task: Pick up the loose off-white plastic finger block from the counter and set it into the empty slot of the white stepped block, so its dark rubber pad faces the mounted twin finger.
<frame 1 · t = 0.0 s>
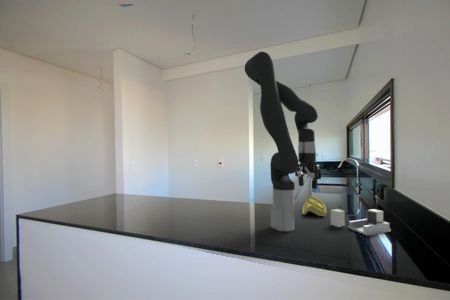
hand: (307, 187, 105), 17 cm above the worktop, tool pointing down, fingers open, 8 cm apart
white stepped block: (369, 230, 98), on the worktop
finger block: (337, 225, 104), on the worktop
plastic component: (314, 213, 127), on the worktop
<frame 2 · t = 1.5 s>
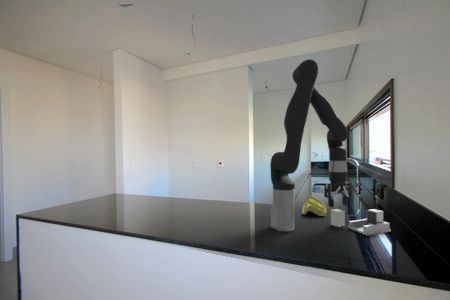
hand: (338, 206, 105), 9 cm above the worktop, tool pointing down, fingers open, 8 cm apart
nothing on the worktop moved.
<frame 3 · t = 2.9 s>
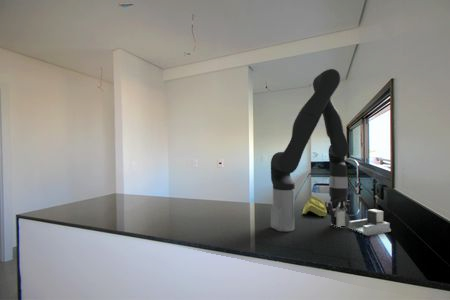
hand: (338, 223, 104), 1 cm above the worktop, tool pointing down, fingers closed on finger block, 4 cm apart
finger block: (337, 225, 104), on the worktop, touching gripper
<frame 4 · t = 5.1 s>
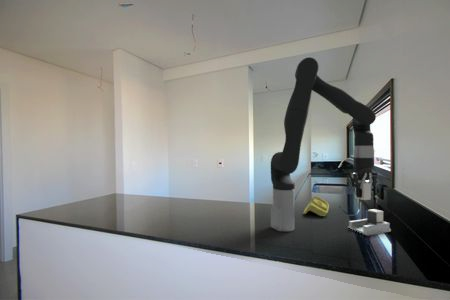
hand: (363, 196, 97), 14 cm above the worktop, tool pointing down, fingers closed on finger block, 4 cm apart
finger block: (363, 198, 97), point 14 cm above the worktop, touching gripper
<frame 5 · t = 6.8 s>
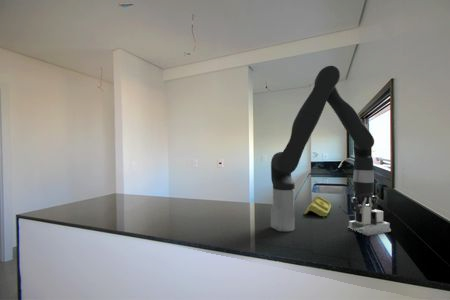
hand: (363, 220, 97), 4 cm above the worktop, tool pointing down, fingers closed on finger block, 4 cm apart
finger block: (362, 222, 97), point 3 cm above the worktop, touching gripper
when the fingers open (4 cm above the worktop, at t = 7.4 s): finger block drops 2 cm, resting on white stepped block.
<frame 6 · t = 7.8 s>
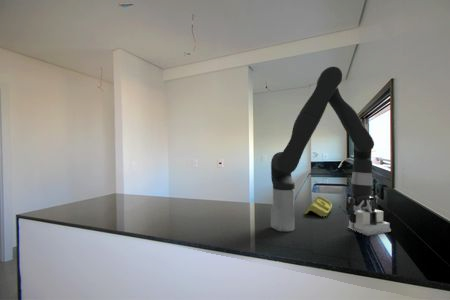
hand: (360, 221, 97), 4 cm above the worktop, tool pointing down, fingers open, 7 cm apart
finger block: (361, 228, 97), point 1 cm above the worktop, touching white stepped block
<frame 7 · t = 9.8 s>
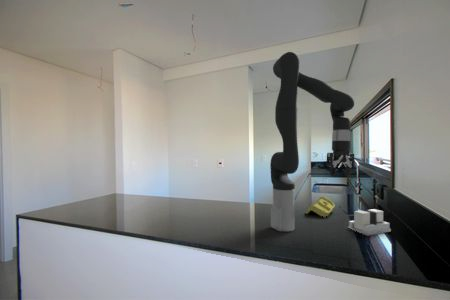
hand: (340, 175, 105), 22 cm above the worktop, tool pointing down, fingers open, 8 cm apart
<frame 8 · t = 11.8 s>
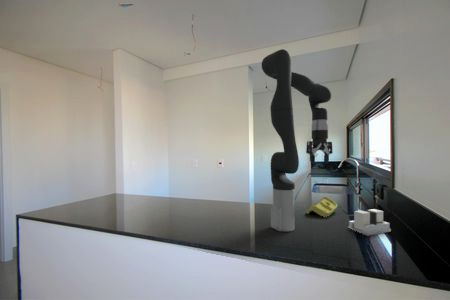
hand: (319, 162, 113), 28 cm above the worktop, tool pointing down, fingers open, 8 cm apart
at the end: finger block 0.6 cm from the target spot on the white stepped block, point 1.1 cm above the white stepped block's base; finger block tilted 0°; the gripper is holding nothing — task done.
